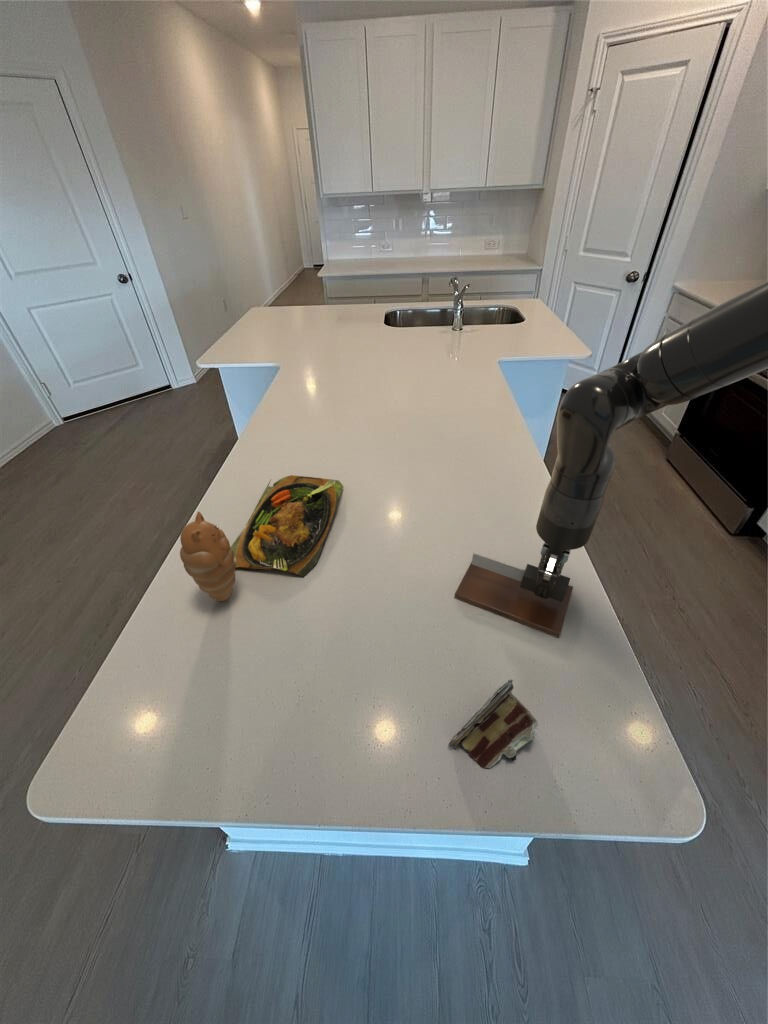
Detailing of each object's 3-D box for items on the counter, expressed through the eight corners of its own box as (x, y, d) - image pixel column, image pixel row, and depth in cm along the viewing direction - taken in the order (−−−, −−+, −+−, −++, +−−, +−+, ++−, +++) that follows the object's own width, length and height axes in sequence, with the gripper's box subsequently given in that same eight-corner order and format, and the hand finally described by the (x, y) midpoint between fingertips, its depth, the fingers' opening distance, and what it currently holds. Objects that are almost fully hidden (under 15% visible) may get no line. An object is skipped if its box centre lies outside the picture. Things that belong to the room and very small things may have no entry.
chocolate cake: (483, 795, 55) (553, 734, 52) (444, 746, 57) (508, 686, 55) (498, 762, 63) (558, 709, 61) (463, 721, 66) (519, 668, 63)
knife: (566, 589, 73) (570, 577, 71) (562, 602, 71) (567, 590, 69) (474, 558, 79) (476, 546, 77) (468, 569, 77) (470, 557, 75)
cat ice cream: (244, 612, 76) (216, 537, 65) (197, 619, 76) (161, 544, 64) (248, 575, 83) (223, 501, 71) (205, 580, 82) (173, 506, 71)
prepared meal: (310, 565, 79) (217, 553, 82) (312, 578, 82) (221, 567, 84) (346, 479, 101) (272, 472, 103) (347, 491, 103) (274, 484, 106)
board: (571, 590, 78) (573, 586, 77) (558, 638, 71) (560, 634, 70) (475, 557, 85) (475, 553, 84) (454, 597, 78) (454, 593, 77)
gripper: (589, 549, 56) (557, 628, 68) (604, 489, 66) (574, 567, 77) (530, 531, 59) (509, 610, 70) (553, 476, 68) (531, 553, 80)
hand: (543, 587), depth 74 cm, fingers closed on knife, 3 cm apart
